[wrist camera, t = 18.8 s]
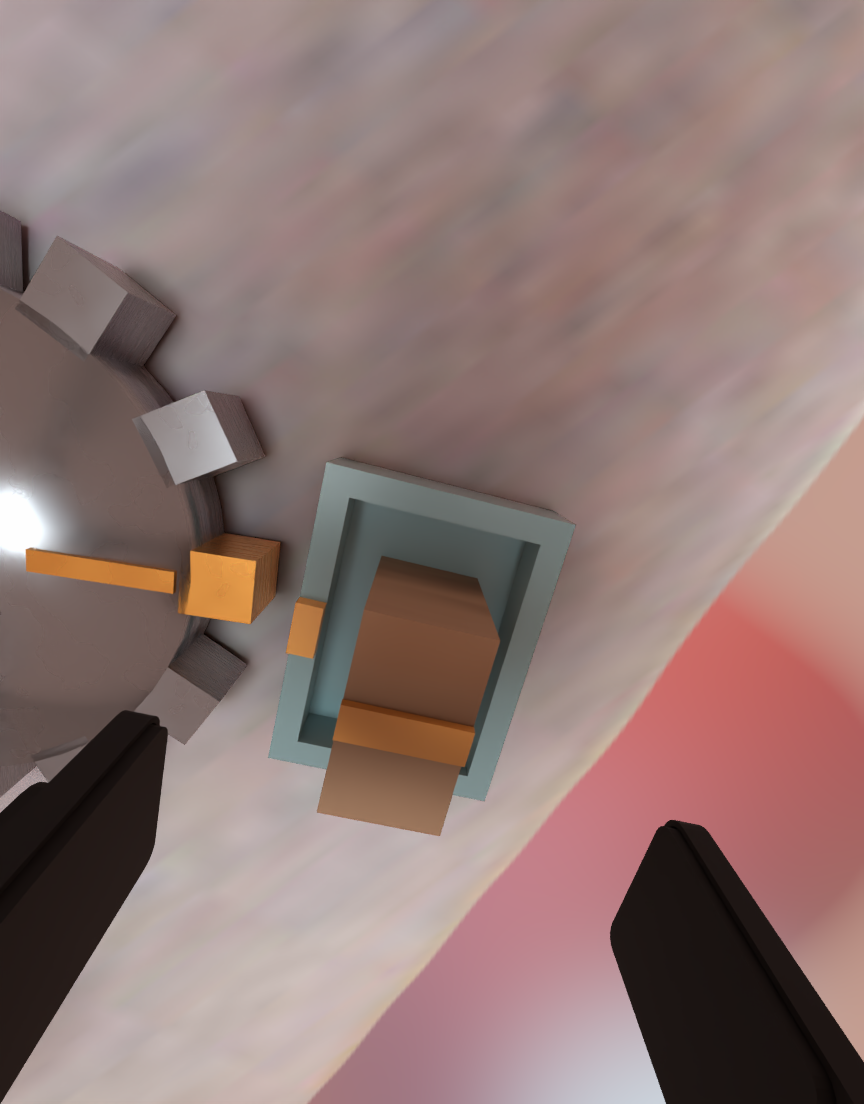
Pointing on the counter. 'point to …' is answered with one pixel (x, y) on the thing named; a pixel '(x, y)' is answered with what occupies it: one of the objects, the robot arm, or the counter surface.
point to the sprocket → (108, 517)
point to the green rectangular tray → (426, 539)
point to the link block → (410, 698)
